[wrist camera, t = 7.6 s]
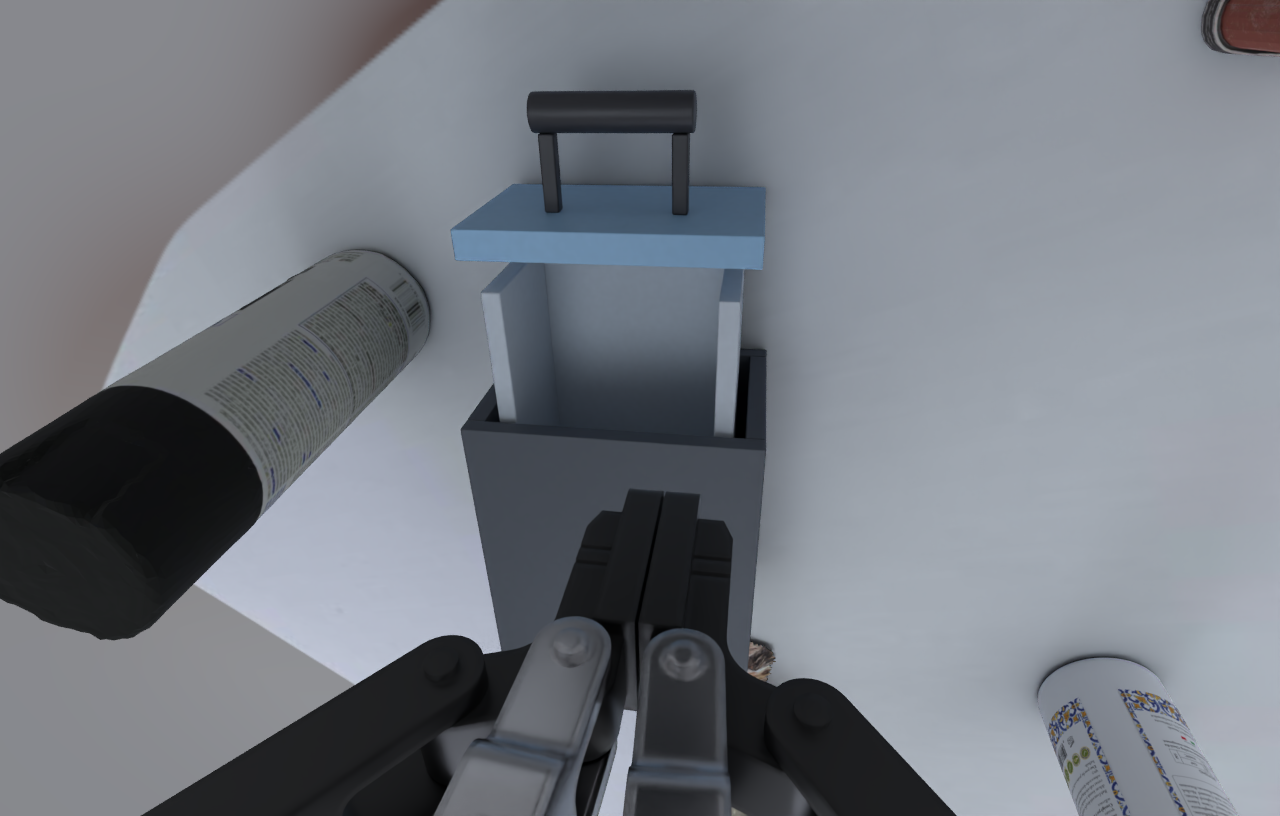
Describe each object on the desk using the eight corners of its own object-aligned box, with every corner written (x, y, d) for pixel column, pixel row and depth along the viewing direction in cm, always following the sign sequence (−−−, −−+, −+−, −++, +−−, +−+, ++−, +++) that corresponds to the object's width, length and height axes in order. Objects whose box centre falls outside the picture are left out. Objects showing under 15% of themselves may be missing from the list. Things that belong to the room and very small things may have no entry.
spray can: (326, 222, 35) (-93, 436, 18) (450, 279, 35) (158, 539, 18) (308, 330, 38) (-56, 593, 21) (421, 380, 39) (153, 677, 22)
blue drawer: (500, 79, 29) (428, 101, 23) (773, 76, 27) (774, 99, 21) (541, 432, 38) (497, 516, 32) (748, 446, 37) (744, 538, 30)
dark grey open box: (525, 338, 36) (459, 429, 29) (766, 349, 34) (765, 450, 27) (550, 546, 44) (503, 664, 36) (749, 565, 42) (745, 693, 34)
